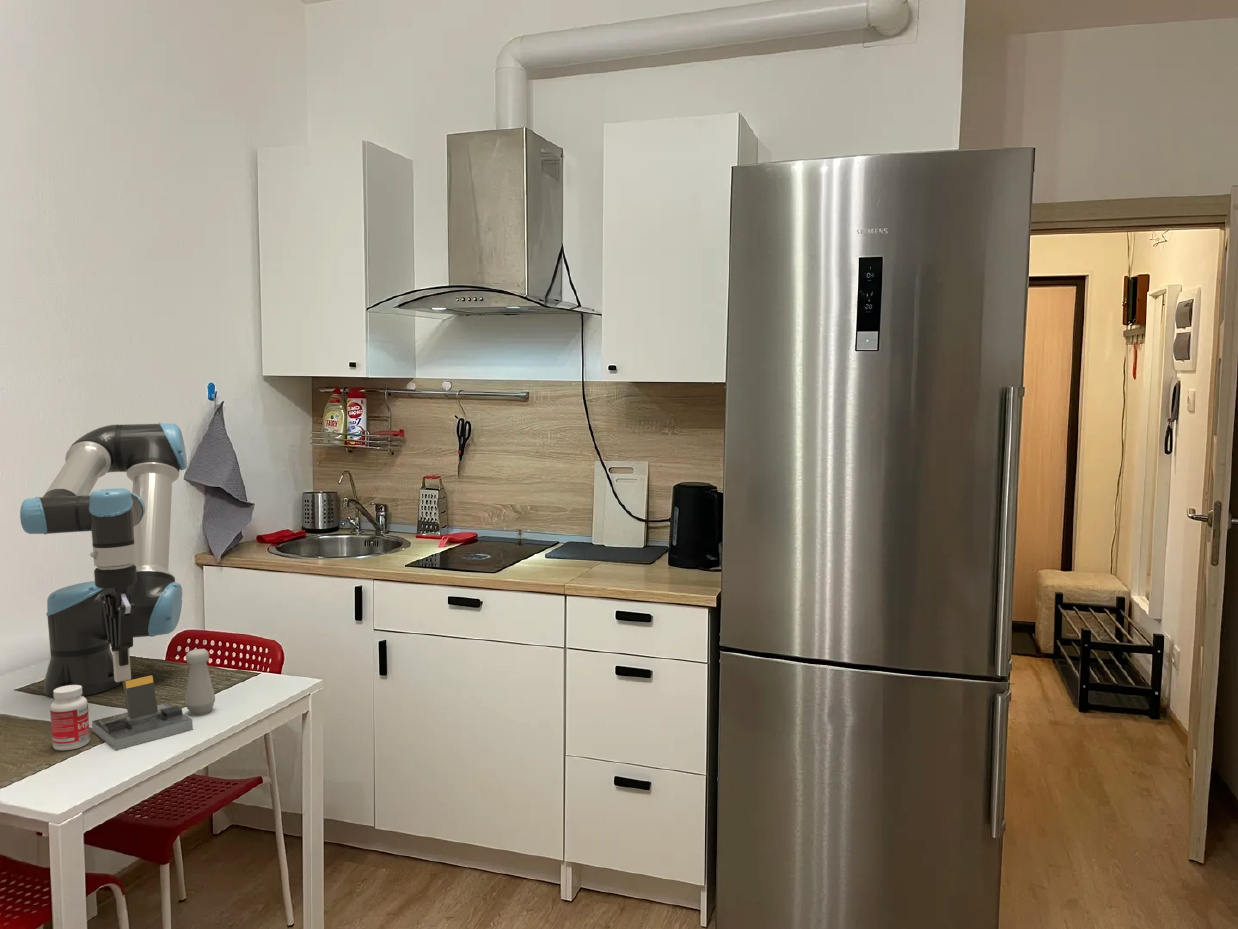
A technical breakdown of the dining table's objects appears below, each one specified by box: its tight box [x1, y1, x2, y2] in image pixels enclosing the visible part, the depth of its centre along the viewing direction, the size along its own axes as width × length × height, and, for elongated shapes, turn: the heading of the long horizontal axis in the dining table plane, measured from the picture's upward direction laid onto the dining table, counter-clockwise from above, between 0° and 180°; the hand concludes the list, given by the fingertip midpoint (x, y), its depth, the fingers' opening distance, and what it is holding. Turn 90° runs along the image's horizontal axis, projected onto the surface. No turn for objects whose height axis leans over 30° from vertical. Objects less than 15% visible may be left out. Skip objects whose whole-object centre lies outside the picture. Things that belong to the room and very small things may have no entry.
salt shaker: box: [184, 648, 216, 716], centre depth 196 cm, size 6×6×13 cm
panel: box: [91, 702, 194, 751], centre depth 186 cm, size 14×14×3 cm
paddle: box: [122, 675, 161, 724], centre depth 186 cm, size 2×6×8 cm, turn 135°
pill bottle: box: [49, 685, 91, 751], centre depth 179 cm, size 6×6×11 cm
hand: (122, 679), depth 193 cm, fingers closed
